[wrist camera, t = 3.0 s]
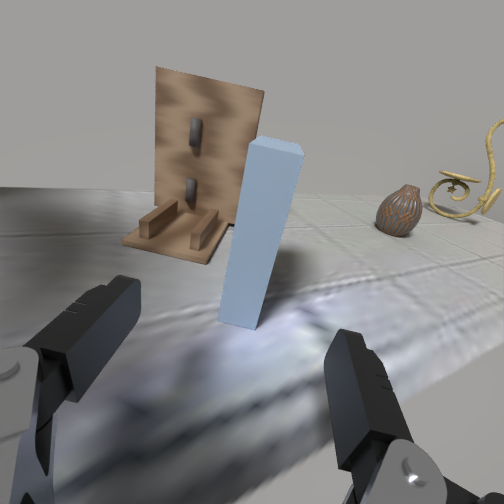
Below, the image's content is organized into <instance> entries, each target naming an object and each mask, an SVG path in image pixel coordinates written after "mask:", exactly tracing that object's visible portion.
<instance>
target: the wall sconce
mask: <svg viewBox="0 0 504 504" xmlns="http://www.w3.org/2000/svg"><path fill="white" fill-rule="evenodd" d="M503 123H504V119H502V120H500V121H499V122H497V123H496V124H495V125H493V126H492V128H491V129H490V130H489V132H488V134H487V137H486V148H487V154H488V158H489V165H490V177H489V183H488V187H487V190H486V192H485V194H484V196H480V197H479V198H478V201H480V202H479V204H478V205H477V206H476V207H475V208H474V209H472V210H471V211H469V212H467V213H464V214H458V215H452V214H447V213H444V212H442V211H441V210H439V209H438V208H437V207H436V206H435V205H434V203H433V194H434V192H435V190H436V189H437V188H438V187H439V186H440V185H441V184H443V183H446V182H451V183H452V185H453V186H452V187H448V189H449V190H448V191H447V192H451V193H453V191H455V190H456V189H455V188H454V185H457V184H458V185H460V186H462V187H463V188H464V189H465V194H464V195H463V196H462V197H460V198H457V197H455V196H452V197H451V198H452V199H453V200H455V201H461V200H464V199H465V198H467V196H468V195H469V192H470V190H469V187H468V186H467V185H466V184H465V183H463V182H461V181H460V180H463V181H467V182H475V183H479V182H481V181H480V180H476V179H473V178H469V177H466V176H462V175H458V174H454V173H450V172H445V171H439V172H440V173H441V174H443V175H446V176H449V177H452V178H455V179H444V180H441V181H440V182H438V183H437V184H436V185H435V186H434V187H433V188H432V190H431V192H430V194H429V204H430V206H431V208H432V209H433V210H434V211H435V212H437V213H438V214H440V215H442V216H445V217H449V218H462V217H466V216H469V215H471V214H473V213H475V212H476V211H477V210H478V209H480V207H481V206H482V205H483V204H484V203H485V204H484V206H483V208H482V210H481V214H485V213H486V212H487V211H488V210H489V209H490V208H491V206H492V205H493V204H494V202H495V201H496V199H497V198H498V196H499V195H500V193H501V190H502V189H501V188H498V189H497V190H495V191H494V192H493V193H492V195H491V196H490V197H489V198H488V196H489V194H490V192H491V190H492V187H493V184H494V178H495V161H494V156H493V151H492V146H491V136H492V134H493V132H494V131H495V129H496V128H497V127H498V126H500V125H501V124H503Z"/></svg>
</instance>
